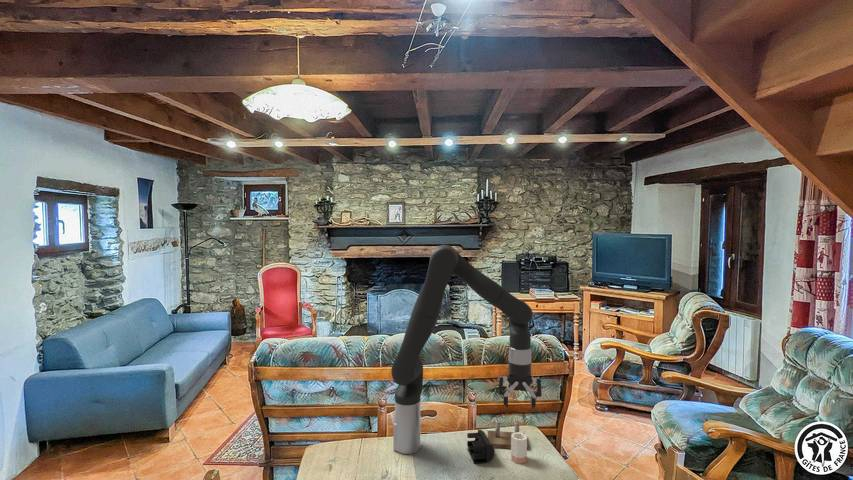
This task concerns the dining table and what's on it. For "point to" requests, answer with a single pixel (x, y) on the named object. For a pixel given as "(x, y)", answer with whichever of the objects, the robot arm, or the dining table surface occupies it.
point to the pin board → (502, 437)
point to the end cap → (480, 448)
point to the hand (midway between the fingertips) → (519, 407)
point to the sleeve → (519, 448)
